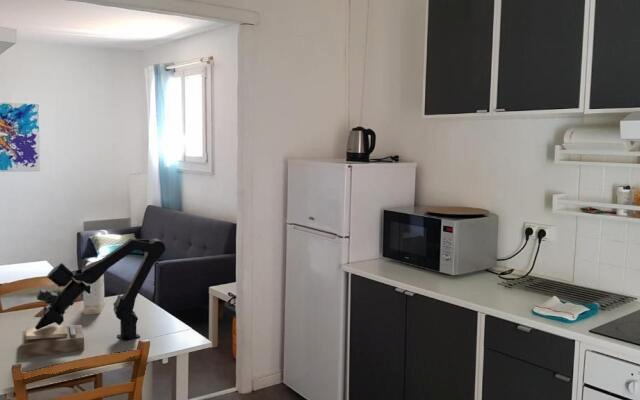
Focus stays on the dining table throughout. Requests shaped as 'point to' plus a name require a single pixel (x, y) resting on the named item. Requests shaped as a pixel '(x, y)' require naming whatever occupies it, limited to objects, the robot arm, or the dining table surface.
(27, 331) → the oak plank
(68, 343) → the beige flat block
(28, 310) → the dining table surface
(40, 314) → the wooden tablet
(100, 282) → the coffeecake box
